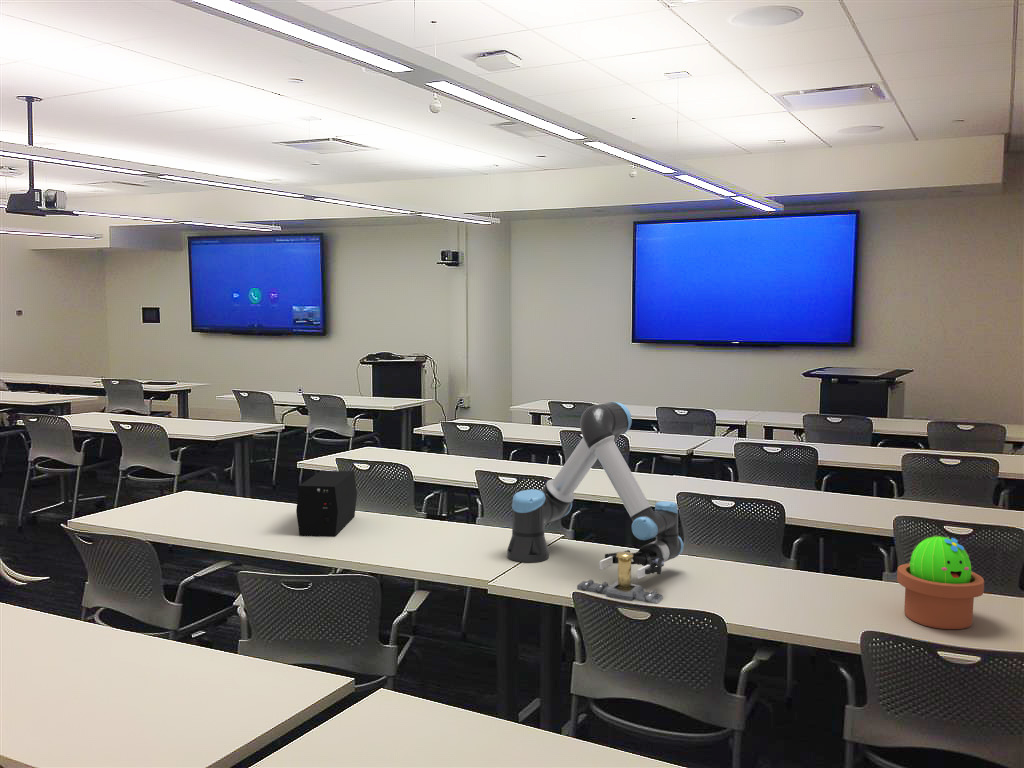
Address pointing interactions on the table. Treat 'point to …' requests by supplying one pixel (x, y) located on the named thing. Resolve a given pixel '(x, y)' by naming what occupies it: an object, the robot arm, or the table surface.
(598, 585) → the chain end left
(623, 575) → the brass pin
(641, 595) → the chain end right
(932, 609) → the potted cactus
